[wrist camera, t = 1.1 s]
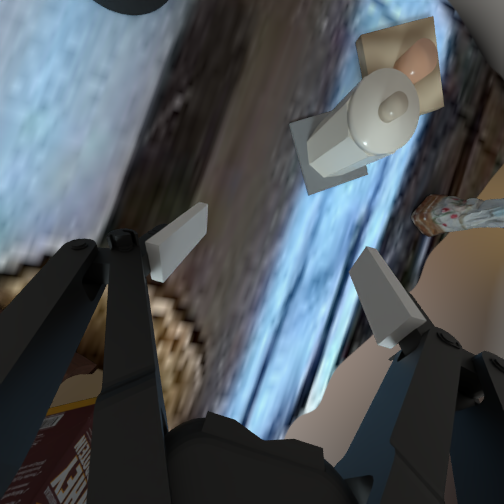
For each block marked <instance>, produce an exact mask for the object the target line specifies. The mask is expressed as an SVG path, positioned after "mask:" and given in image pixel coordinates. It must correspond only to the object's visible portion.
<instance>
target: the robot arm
mask: <svg viewBox="0 0 504 504" xmlns="http://www.w3.org/2000/svg"><path fill="white" fill-rule="evenodd" d="M94 1H95V2H97V3H98V4H100V5H102V6H103V7H105V8H107V9H109V10H112V11H115V12H118V13H121V14H127V15H142V14H147V13H150V12H153V11H155V10H157V9H159V8H160V7H161V6H163V5H164V4H165V3H166V2H167V1H168V0H94ZM207 214H208V204H205V203H201V202H199V203H197V204H196V205H194V206H193V207H192V208H190V209H189V210H188V211H186V212H185V213H184V214H182V215H181V216H180V217H178V218H177V219H175V220H174V221H173V222H171V223H170V224H169V225H168V224H161V225H158V226H156V227H155V228H153V229H152V230H150V231H149V232H148V233H146V234H144V235H143V236H141V237H140V238H139V239H138V235H137V233H136V231H134V230H131V229H118V230H114V231H111V232H110V233H108V234H107V236H106V238H107V241H108V244H109V247H110V248H98V247H97V245H96V243H95V241H93V240H91V239H76V240H72V241H70V242H67V243H66V244H64V245H63V246H62V247H61V248H60V249H59V250H58V251H57V252H56V254H55V255H54V256H53V257H52V258H51V259H50V260H49V261H48V262H47V263H46V264H45V266H44V267H43V268H42V269H41V270H40V271H39V272H38V273H37V274H36V275H35V276H34V278H33V279H32V280H31V281H30V282H29V283H28V284H27V285H26V286H25V287H24V288H23V290H22V291H21V292H20V293H19V294H18V295H17V296H16V297H15V298H14V299H13V300H12V302H11V303H10V304H9V305H8V306H7V307H6V308H5V309H4V310H3V311H2V312H1V314H0V500H1V498H2V497H3V495H4V494H5V492H6V490H7V489H8V487H9V485H10V484H11V482H12V480H13V479H14V477H15V475H16V474H17V472H18V470H19V469H20V467H21V465H22V463H23V461H24V459H25V457H26V456H27V454H28V452H29V450H30V448H31V446H32V444H33V442H34V440H35V438H36V435H37V433H38V431H39V429H40V427H41V425H42V423H43V420H44V418H45V416H46V414H47V412H48V410H49V408H50V405H51V403H52V401H53V399H54V397H55V395H56V392H57V390H58V388H59V386H60V384H61V382H62V380H63V378H64V375H65V373H66V371H67V369H68V367H69V365H70V362H71V360H72V358H73V356H74V354H75V352H76V350H77V347H78V345H79V343H80V341H81V339H82V337H83V335H84V332H85V330H86V328H87V326H88V324H89V322H90V320H91V317H92V315H93V313H94V311H95V309H96V307H97V305H98V302H99V300H100V298H101V296H102V294H103V292H104V290H105V287H106V285H107V284H108V299H107V316H106V332H105V349H104V366H103V383H102V390H101V393H100V394H99V395H98V397H97V399H96V402H95V407H94V414H93V426H92V439H91V451H90V463H89V475H88V488H87V500H86V504H445V501H444V491H445V483H446V475H447V469H448V461H449V453H450V456H451V463H452V469H453V475H454V482H455V488H456V495H457V501H458V504H504V359H502V358H500V357H498V356H497V355H495V354H492V353H490V352H487V351H483V352H481V353H479V354H478V355H474V354H472V353H470V352H468V351H466V350H464V349H462V346H461V345H460V343H459V342H458V341H457V340H456V339H455V338H454V337H453V336H452V335H450V334H449V333H448V332H446V331H444V330H443V329H440V328H438V327H435V326H434V325H433V324H432V322H431V321H430V319H429V318H428V316H427V315H426V314H425V312H424V311H423V310H422V309H421V307H420V305H419V304H418V303H417V301H416V300H415V299H414V297H413V296H412V295H411V294H410V293H409V292H408V291H407V290H406V289H404V288H403V286H402V285H401V284H400V282H399V281H398V279H397V278H396V277H395V275H394V274H393V272H392V271H391V269H390V268H389V267H388V265H387V264H386V262H385V261H384V260H383V258H382V257H381V255H380V254H379V252H378V251H377V250H376V249H374V248H371V247H367V246H366V248H365V249H364V251H363V252H362V253H361V255H360V256H359V258H358V259H357V261H356V262H355V264H354V265H353V267H352V268H351V270H350V271H349V273H350V276H351V279H352V281H353V284H354V286H355V289H356V291H357V294H358V296H359V299H360V301H361V304H362V306H363V309H364V311H365V314H366V316H367V319H368V322H369V324H370V327H371V329H372V332H373V334H374V337H375V339H376V342H377V344H378V345H380V346H383V347H387V348H390V349H391V348H392V347H394V346H395V345H396V344H398V343H399V345H400V347H401V349H402V350H400V351H399V352H398V353H396V354H395V355H393V356H392V357H391V358H390V359H389V360H390V361H391V360H393V362H392V364H391V366H390V368H389V370H388V372H387V374H386V376H385V378H384V380H383V382H382V384H381V386H380V388H379V390H378V392H377V394H376V396H375V397H374V399H373V401H372V404H371V405H370V407H369V409H368V411H367V413H366V415H365V417H364V419H363V421H362V423H361V425H360V427H359V429H358V431H357V433H356V435H355V437H354V439H353V441H352V443H351V445H350V447H349V449H348V451H347V453H346V454H345V456H344V457H343V458H342V459H341V460H340V461H339V462H338V463H337V464H336V466H335V467H333V466H332V465H331V464H329V463H328V462H327V461H326V460H325V459H324V457H323V448H321V447H318V446H314V445H311V444H308V443H305V442H302V441H299V440H296V439H283V440H267V441H266V440H262V439H260V438H259V437H258V436H256V435H255V434H254V433H252V432H251V431H249V430H248V429H247V428H245V427H244V426H243V425H241V424H240V423H239V422H237V421H236V420H234V419H231V418H228V417H224V416H221V415H218V414H215V413H212V412H209V411H208V412H207V415H206V418H197V419H193V420H190V421H187V422H184V423H182V424H180V425H179V426H177V427H175V428H174V429H172V430H171V431H170V432H168V425H167V418H166V411H165V406H164V400H163V393H162V386H161V379H160V372H159V365H158V358H157V351H156V344H155V337H154V329H153V322H152V315H151V308H150V301H149V294H148V287H147V280H146V276H147V275H148V274H149V273H151V278H152V279H153V280H156V281H159V282H163V283H164V281H165V280H166V279H167V278H168V277H169V276H170V275H171V273H172V272H173V271H174V270H175V269H176V268H177V266H178V265H179V264H180V263H181V262H182V261H183V260H184V258H185V257H186V256H187V255H188V254H189V253H190V251H191V250H192V249H193V248H194V247H195V246H196V245H197V243H198V242H199V241H200V240H201V239H202V238H203V236H204V235H205V234H206V232H207ZM483 396H484V400H483V401H482V402H481V403H479V399H478V398H480V397H483Z"/></svg>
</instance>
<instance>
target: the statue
mask: <svg viewBox="0 0 504 504" xmlns="http://www.w3.org/2000/svg"><path fill="white" fill-rule="evenodd" d="M411 219H412V220H413V222H414V224H415V225H416V226H417V228H418V229H419V230H420V231H421V232H422V233H423V234H424V235H426V236H428V237H431V236H435V235H438V234H444V232H452V231H459V230H467V229H471V228H478V227H500V228H504V198H503V199H491V200H485V201H483V200H480V199H477V198H475V199H473V198H470V199H468V200H461V199H459V198H457V197H455V196H447V195H446V194H443V195H437V194H432V195H429V196H427V197H426V199H425V200H424V201H423V202H422V203H421V204H420V205H419V206H418V208H417V209H416V210H415V211H414V212H413V214H412V216H411Z"/></svg>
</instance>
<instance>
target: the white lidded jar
mask: <svg viewBox="0 0 504 504" xmlns="http://www.w3.org/2000/svg"><path fill="white" fill-rule="evenodd" d="M419 113H420V105H419V98H418V94H417V91H416V89H415V87H414V85H413V83H412V82H411V80H410V79H409V78H408V77H407V76H406V75H405V74H404V73H402V72H401V71H399V70H396V69H393V68H382V69H378V70H376V71H374V72H372V73H371V74H369V75H368V76H365V77H364V78H363V79H362V80H361V81H360V82H359V83H358V84H357V85H356V86H355V87H354V88H353V89H352V90H351V91H350V92H349V93H348V94H347V96H346V97H345V98H344V99H343V100H342V101H341V102H340V103H339V104H338V105H337V106H336V107H335V108H334V109H333V110H332V111H331V112H330V113H329V114H328V115H327V116H326V117H325V118H324V120H323V121H322V122H321V123H320V124H319V125H318V126H317V128H316V129H315V131H314V132H313V133H312V135H311V136H310V138H309V139H308V141H307V150H308V160H309V165H310V166H312V167H313V168H314V169H315V170H316V171H317V172H318V173H319V174H320V175H322V176H323V177H324V178H325V177H332V176H339V175H343V174H346V173H348V172H351V171H353V170H355V169H358V168H360V167H363V166H365V165H367V164H370V163H372V162H374V161H377V160H379V159H382V158H384V157H386V156H389V155H391V154H393V153H395V151H396V150H398V149H399V148H401V147H402V146H404V145H405V144H406V143H407V142H408V141H409V140H410V138H411V137H412V135H413V134H414V132H415V130H416V127H417V124H418V120H419Z"/></svg>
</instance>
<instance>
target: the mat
mask: <svg viewBox="0 0 504 504" xmlns="http://www.w3.org/2000/svg"><path fill="white" fill-rule="evenodd" d="M330 112H331V111H329V112H326V113H322V114H319V115H316V116H313V117H309V118H306V119H303V120H299V121H296V122H293V123H290V124H289V126H290V130H291V134H292V137H293V141H294V145H295V148H296V152H297V156H298V159H299V163H300V167H301V170H302V174H303V178H304V181H305V185H306V189H307V192H308V195H311V194H314V193H317V192H320V191H322V190H325V189H328V188H331V187H334V186H337V185H339V184H342V183H345V182H348V181H351V180H354V179H356V178H359V177H362V176H365V175H368V173H367V168H366V165H365V166H363V167H360V168H358V169H355V170H353V171H351V172H348V173H346V174H343V175H339V176H332V177H325V178H324V177H323V176H322V175H320V174H319V173H318V172H317V171H316V170H315V169H314V168H313V167H312V166H310V165H309V160H308V150H307V141H308V139H309V138H310V136H311V135H312V133H313V132H314V131H315V129H316V128H317V126H318V125H319V124H320V123H321V122H322V121H323V120H324V118H325V117H326V116H327V115H328V114H329V113H330Z"/></svg>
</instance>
